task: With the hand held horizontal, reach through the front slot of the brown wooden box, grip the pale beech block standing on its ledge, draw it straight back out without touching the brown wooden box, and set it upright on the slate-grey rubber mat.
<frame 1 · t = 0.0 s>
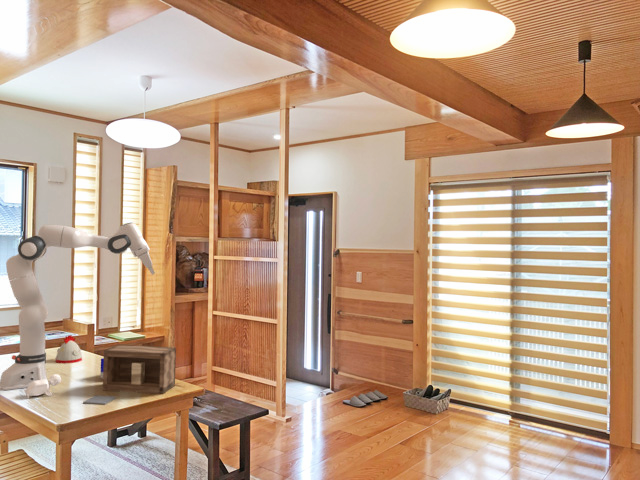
hand: (153, 273, 275), 54 cm above the table, tool tilted 30°, fingers open, 8 cm apart
white animal figurine: (43, 395, 235), on the table
slate mat: (100, 400, 229), on the table
puzzle toy: (114, 377, 269), on the table
kitchen timer: (68, 361, 303), on the table
brown wooden box: (139, 388, 250), on the table
beech block: (137, 383, 248), point 3 cm above the table, touching brown wooden box
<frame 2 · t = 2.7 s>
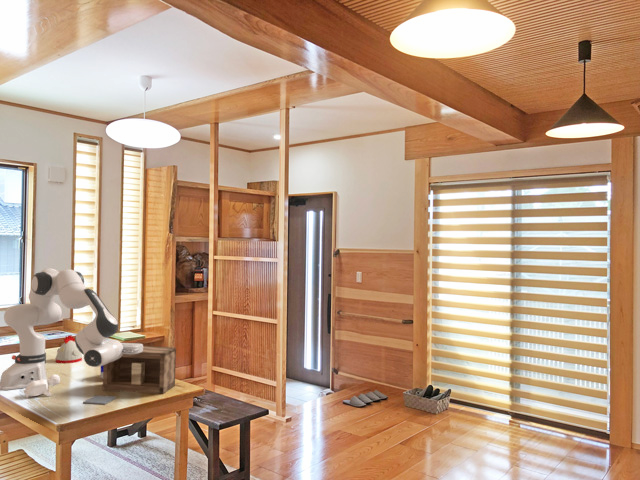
hand: (127, 344, 236), 24 cm above the table, tool horizontal, fingers open, 8 cm apart
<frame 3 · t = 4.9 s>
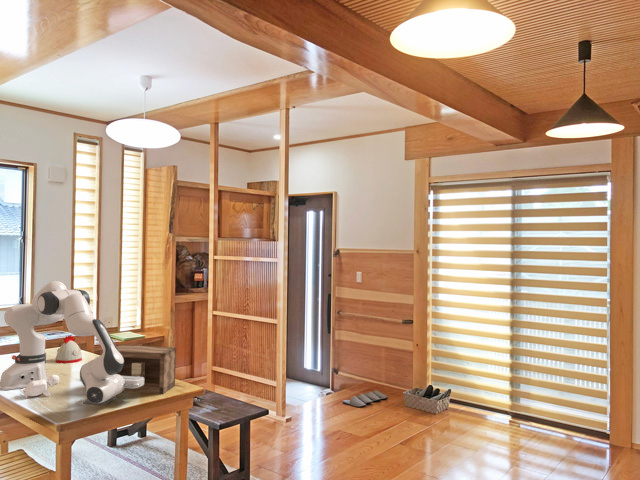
hand: (128, 376, 239), 8 cm above the table, tool horizontal, fingers open, 8 cm apart
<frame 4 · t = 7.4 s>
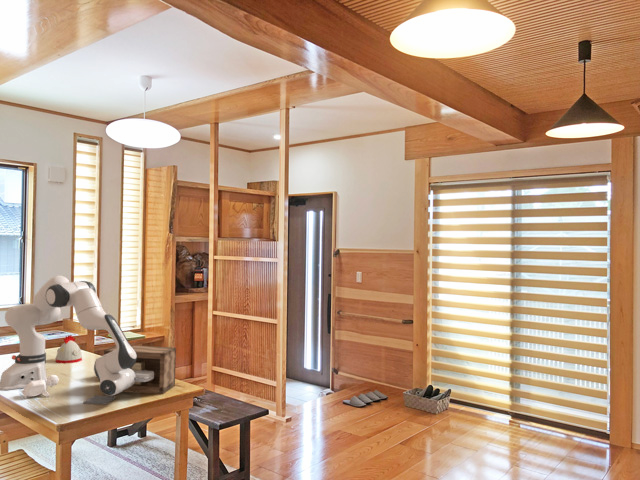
hand: (139, 371, 249), 9 cm above the table, tool horizontal, fingers closed on beech block, 4 cm apart
beech block: (137, 383, 248), point 3 cm above the table, touching gripper, brown wooden box
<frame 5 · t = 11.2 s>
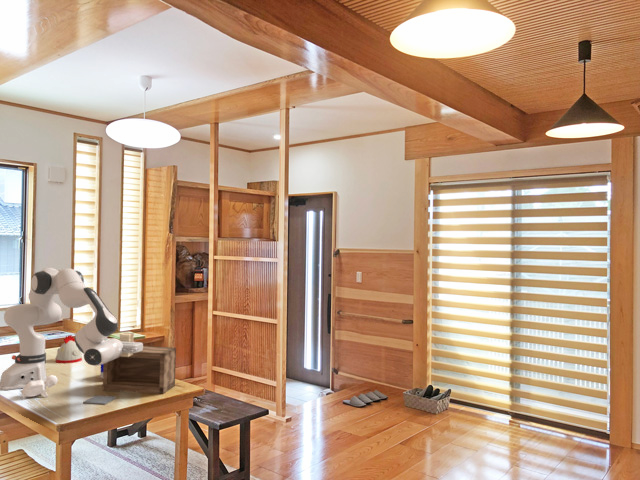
hand: (127, 343, 236), 24 cm above the table, tool horizontal, fingers closed on beech block, 4 cm apart
beech block: (125, 355, 236), point 19 cm above the table, touching gripper
when the fingers open (7 cm above the table, at t = 15.1 s): beech block drops 1 cm, resting on slate mat.
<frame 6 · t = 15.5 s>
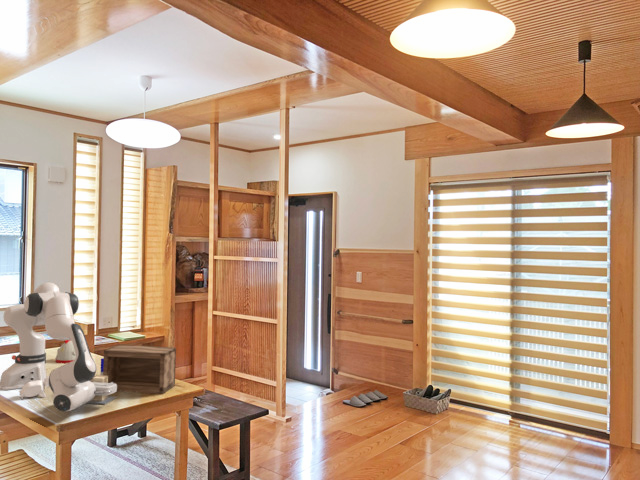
hand: (101, 383, 230), 7 cm above the table, tool horizontal, fingers open, 8 cm apart
beech block: (99, 399, 229), point 1 cm above the table, touching slate mat
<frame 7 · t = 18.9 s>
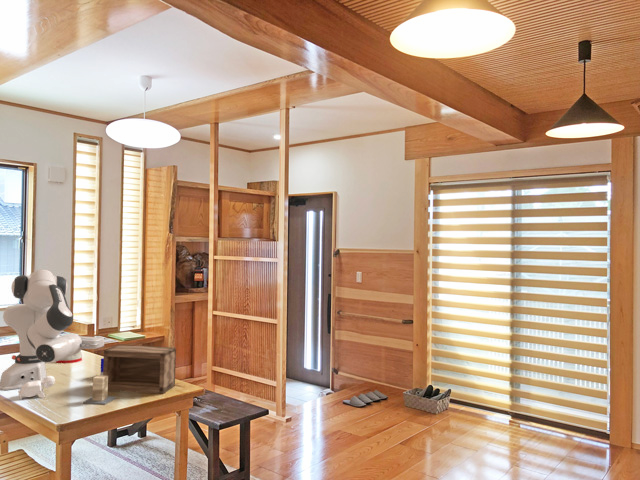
hand: (88, 338, 221), 29 cm above the table, tool horizontal, fingers open, 8 cm apart
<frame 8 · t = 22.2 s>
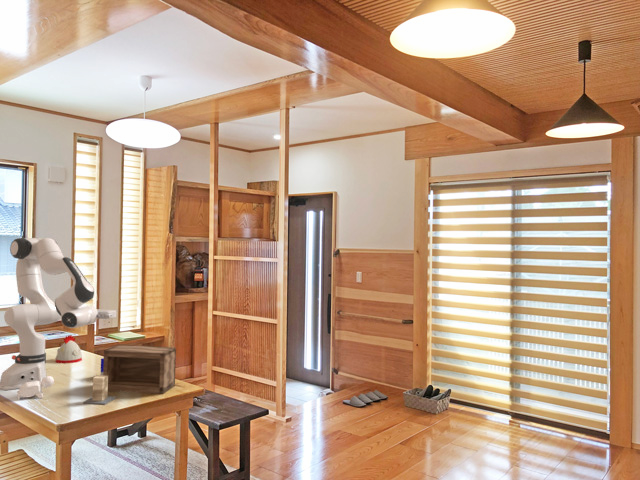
hand: (103, 311, 262), 35 cm above the table, tool horizontal, fingers open, 8 cm apart
at the end: beech block 0.0 cm from the slate mat (horizontally); beech block tilted 0°; beech block point 0.6 cm above the table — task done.
